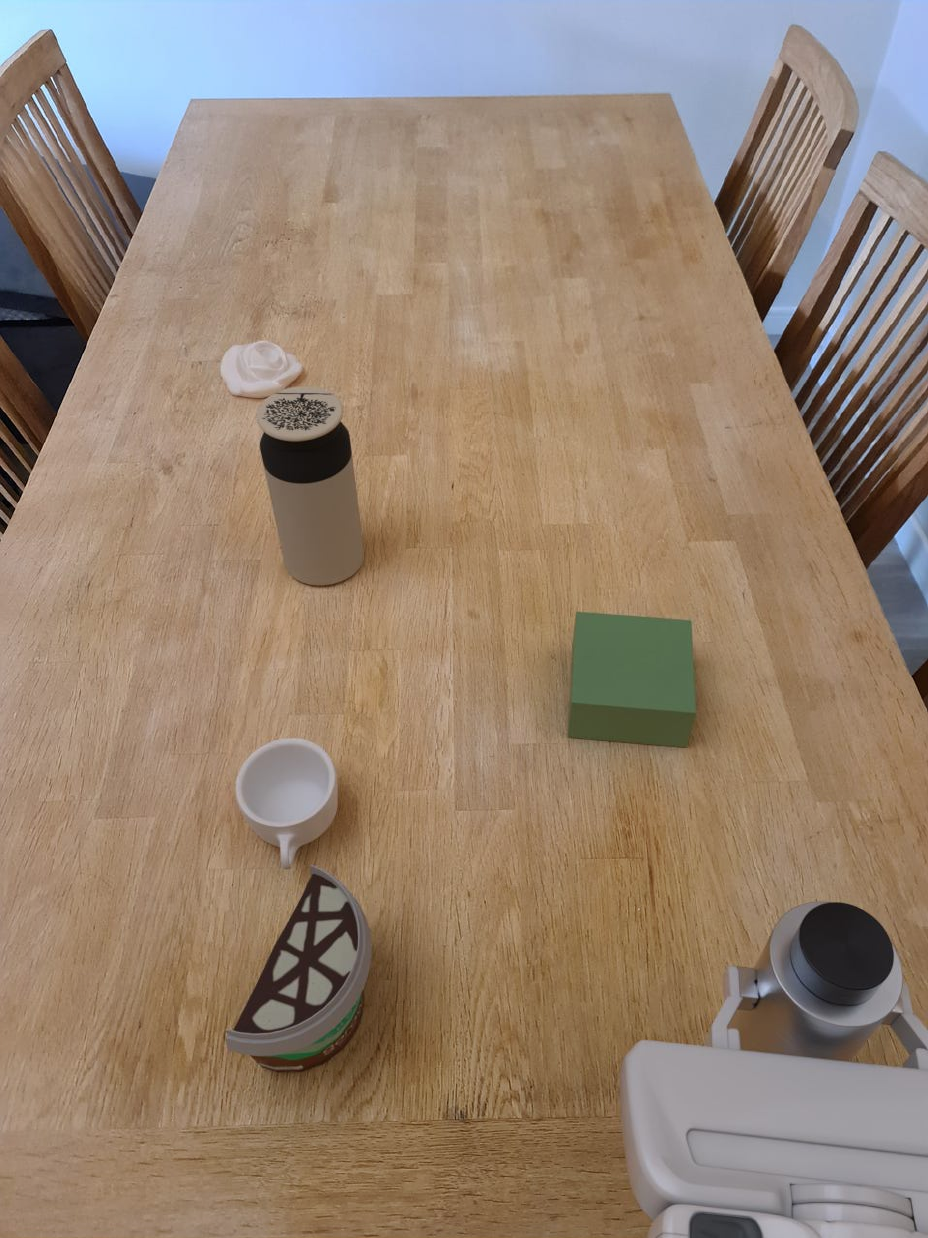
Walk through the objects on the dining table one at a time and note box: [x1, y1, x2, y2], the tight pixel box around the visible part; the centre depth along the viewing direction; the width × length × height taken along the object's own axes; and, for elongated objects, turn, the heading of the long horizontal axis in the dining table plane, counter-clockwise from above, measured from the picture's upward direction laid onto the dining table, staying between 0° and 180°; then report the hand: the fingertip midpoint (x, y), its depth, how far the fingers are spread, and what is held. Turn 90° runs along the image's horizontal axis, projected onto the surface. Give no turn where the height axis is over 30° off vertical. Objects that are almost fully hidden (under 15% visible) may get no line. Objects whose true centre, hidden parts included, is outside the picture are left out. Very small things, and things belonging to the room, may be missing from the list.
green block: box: [566, 611, 697, 748], centre depth 83 cm, size 10×10×5 cm
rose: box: [219, 339, 303, 399], centre depth 116 cm, size 10×4×10 cm
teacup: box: [234, 737, 339, 871], centre depth 75 cm, size 10×8×5 cm
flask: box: [727, 900, 904, 1062], centre depth 52 cm, size 6×6×14 cm
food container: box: [224, 864, 373, 1073], centre depth 63 cm, size 12×6×10 cm, turn 160°
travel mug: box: [256, 385, 365, 586], centre depth 90 cm, size 8×8×18 cm
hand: (811, 977), depth 52 cm, fingers closed on flask, 6 cm apart
